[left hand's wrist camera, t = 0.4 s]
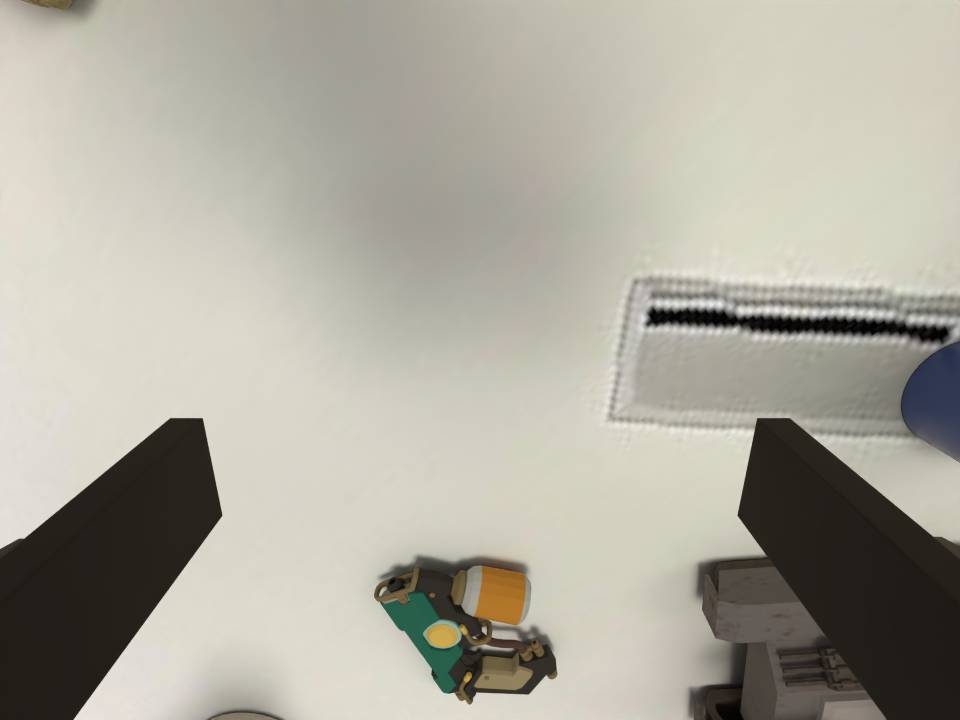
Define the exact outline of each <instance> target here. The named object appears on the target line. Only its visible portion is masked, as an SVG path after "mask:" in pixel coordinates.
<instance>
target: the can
mask: <svg viewBox="0 0 960 720" xmlns="http://www.w3.org/2000/svg"><path fill="white" fill-rule="evenodd" d="M902 414H903V418H904V421H905V423H906V425H907V426H908V428H909V429H910V430H911V431H912V432H913V433H914V434H915V435H916V436H918V437H919V438H921V439H923V440H924V441H926V442H927V443H929V444H931V445H932V446H934V447H935V448H937V449H939V450H940V451H942V452H944V453H945V454H947V455H948V456H950V457H952V458H953V459H955V460H956V461H958V462H960V342H957V343H954V344H952V345H949V346H947V347H945V348H943V349H941V350H939V351H938V352H936V353H935V354H933V355H932V356H930V357H929V358H928V359H927V360H925V361H924V362H923V363H922V364H921V365H920V366H919V367H918V369H917V370H916V371H915V372H914V374H913V375H912V377H911V378H910V380H909V382H908V383H907V385H906V388H905V390H904V394H903V398H902Z"/></svg>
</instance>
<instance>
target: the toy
mask: <svg viewBox="0 0 960 720" xmlns="http://www.w3.org/2000/svg"><path fill="white" fill-rule="evenodd" d="M959 547H960V546H959ZM702 610H703V612H704V615H705V617H706V619H707V621H708V623H709V625H710V627H711V629H712V631H713V634H714V636H715V638H717V639H721V640H726V641H730V642H734V643H748V647H747V656H746V665H745V673H744V682H743V688H736V689H721V690H710V691H709V693H708V694H707V698H706V708H705V716H704V714H703V711H702V709H701V706H700V704H699V702H695V714H694V720H886V718H885V717H884V715H883V714H882V713H881V711H880V710H879V709H878V707H877V706H876V704H875V703H874V702H873V700H872V699H871V698H870V696H869V695H868V694H867V692H866V691H865V689H864V688H863V687H862V685H861V684H860V683H859V681H858V680H857V678H856V677H855V676H854V674H853V673H852V672H851V670H850V669H849V667H848V666H847V665H846V663H845V662H844V661H843V659H842V658H841V657H840V655H839V654H838V652H837V651H836V650H835V648H834V647H833V646H832V644H831V643H830V641H829V640H828V639H827V637H826V636H825V635H824V633H823V632H822V631H821V629H820V628H819V626H818V625H817V624H816V622H815V621H814V620H813V618H812V617H811V615H810V614H809V613H808V611H807V610H806V609H805V607H804V606H803V604H802V603H801V602H800V600H799V599H798V598H797V596H796V595H795V594H794V592H793V591H792V589H791V588H790V587H789V585H788V584H787V583H786V581H785V580H784V578H783V577H782V576H781V574H780V573H779V572H778V570H777V569H776V568H775V566H774V565H773V563H772V562H771V561H770V559H759V560H746V561H732V562H720V563H719V564H718V565H717V566H716V569H715V581H714V585H713V582H712V580H711V578H710V576H709V574H706V575H705V578H704V591H703V605H702Z"/></svg>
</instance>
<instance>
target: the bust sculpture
mask: <svg viewBox="0 0 960 720" xmlns="http://www.w3.org/2000/svg"><path fill="white" fill-rule="evenodd" d="M210 720H277V719H274V718H271V717H268V716H265V715H260V714H255V713H230V714H225V715H221V716H217V717H215V718H212V719H210Z"/></svg>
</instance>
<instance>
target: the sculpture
mask: <svg viewBox="0 0 960 720" xmlns="http://www.w3.org/2000/svg"><path fill="white" fill-rule="evenodd" d="M23 1H26V2H29V3H32V4H35V5H39V6H42V7H56V8H59V9H63V10H66V9H68V8H69V6H70V4H71V3H72V1H73V0H23Z"/></svg>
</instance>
